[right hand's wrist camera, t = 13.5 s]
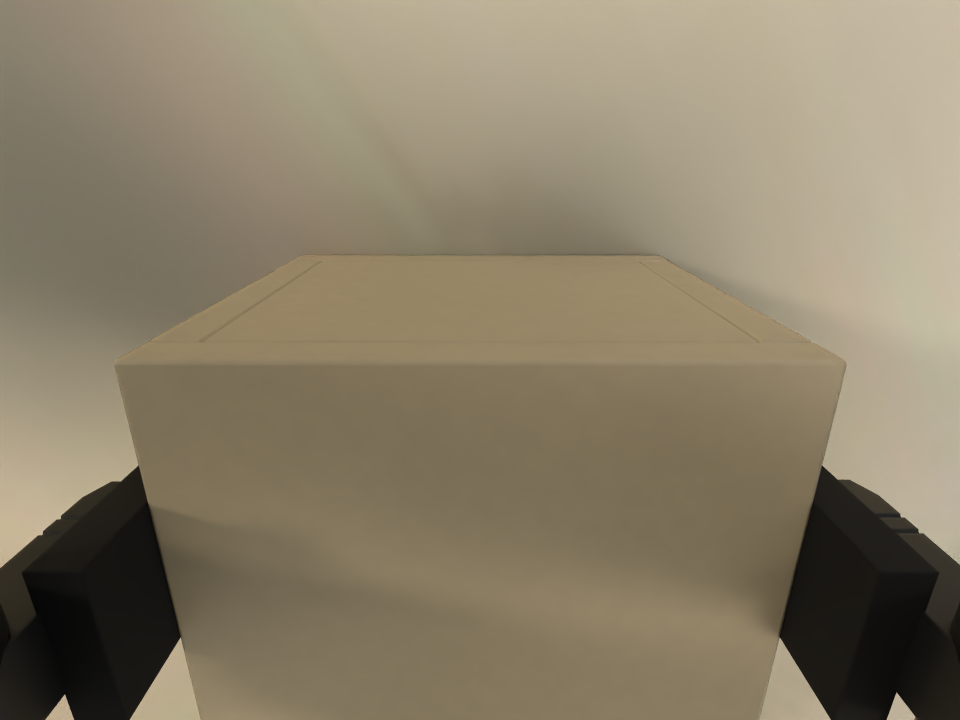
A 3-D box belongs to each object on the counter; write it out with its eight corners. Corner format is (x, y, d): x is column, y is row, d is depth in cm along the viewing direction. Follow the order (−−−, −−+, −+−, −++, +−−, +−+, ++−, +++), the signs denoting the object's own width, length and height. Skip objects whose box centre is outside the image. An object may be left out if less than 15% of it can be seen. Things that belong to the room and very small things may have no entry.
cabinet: (605, 739, 22) (675, 1066, 14) (354, 739, 22) (283, 1066, 14) (660, 255, 16) (851, 360, 8) (300, 254, 16) (110, 360, 8)
